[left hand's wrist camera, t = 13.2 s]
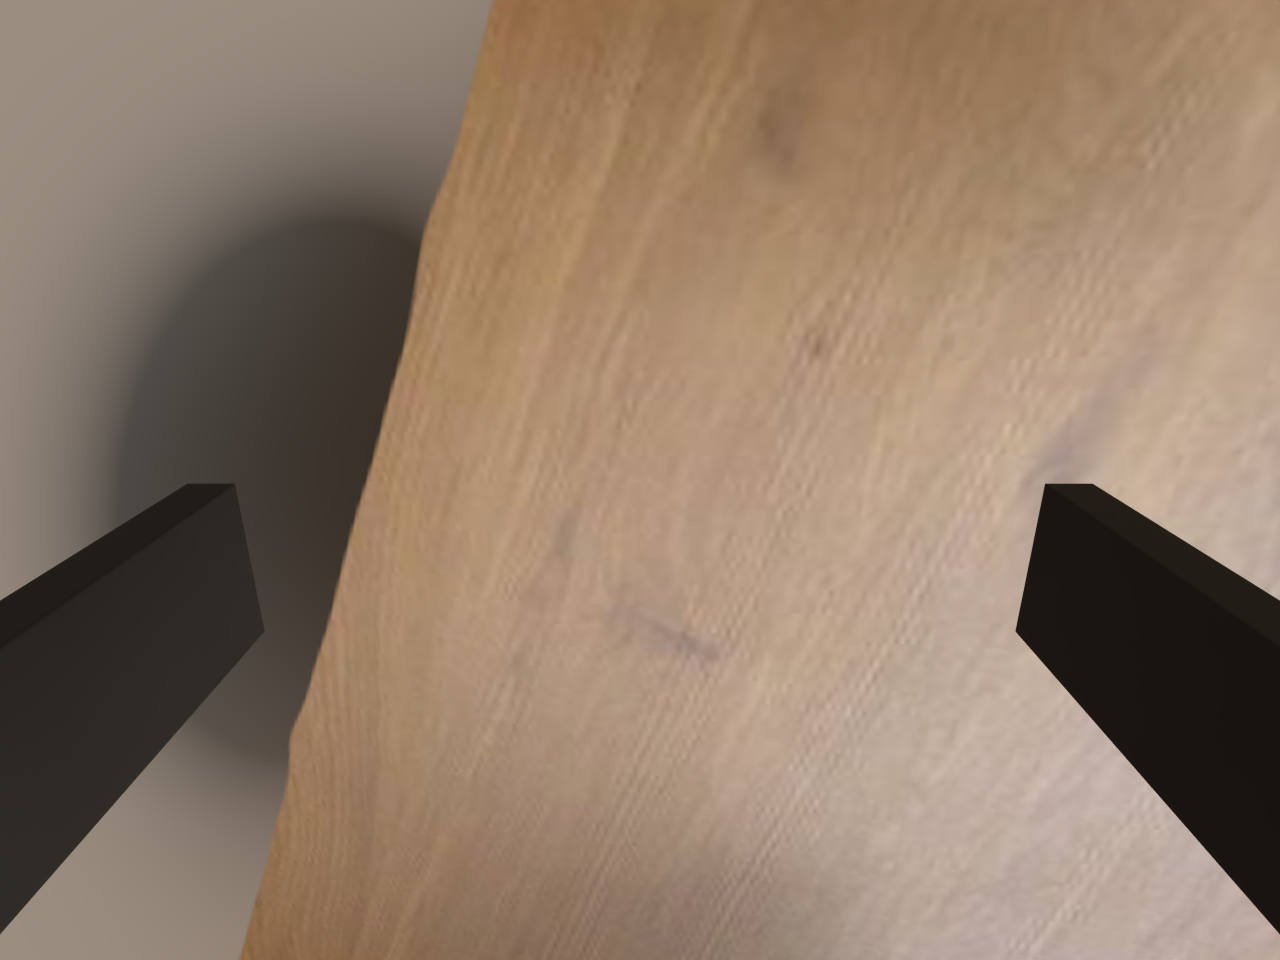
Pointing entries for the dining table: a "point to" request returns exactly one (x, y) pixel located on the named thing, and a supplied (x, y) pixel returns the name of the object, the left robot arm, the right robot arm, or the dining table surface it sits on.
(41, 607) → the left robot arm
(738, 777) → the dining table surface
